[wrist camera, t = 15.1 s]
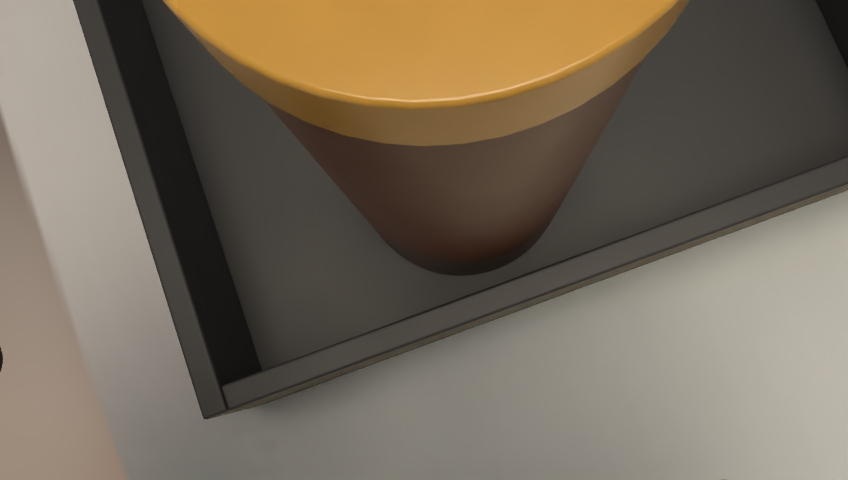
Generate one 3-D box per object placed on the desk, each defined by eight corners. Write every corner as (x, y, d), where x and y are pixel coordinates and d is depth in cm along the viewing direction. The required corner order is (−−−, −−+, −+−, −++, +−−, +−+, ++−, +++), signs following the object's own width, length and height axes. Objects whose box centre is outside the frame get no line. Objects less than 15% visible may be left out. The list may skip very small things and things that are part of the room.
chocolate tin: (515, 313, 22) (613, 221, 6) (324, 229, 23) (-28, -47, 7) (597, 122, 23) (878, -409, 7) (409, 46, 23) (261, -599, 7)
